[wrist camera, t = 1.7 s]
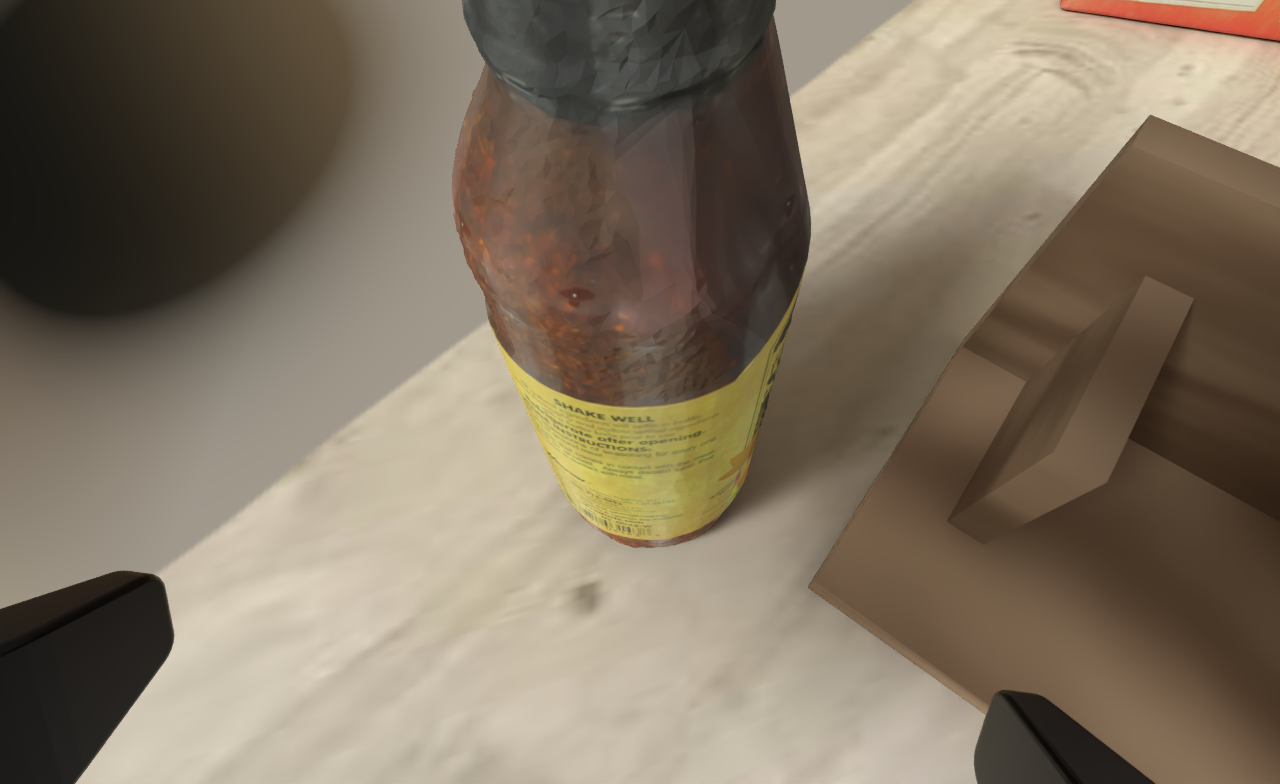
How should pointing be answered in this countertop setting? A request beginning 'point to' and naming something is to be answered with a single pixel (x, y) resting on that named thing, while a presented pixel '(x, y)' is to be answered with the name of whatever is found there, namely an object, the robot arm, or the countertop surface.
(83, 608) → the robot arm
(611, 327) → the sauce bottle
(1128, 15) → the cracker box
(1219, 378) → the walnut shelf
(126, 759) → the countertop surface
